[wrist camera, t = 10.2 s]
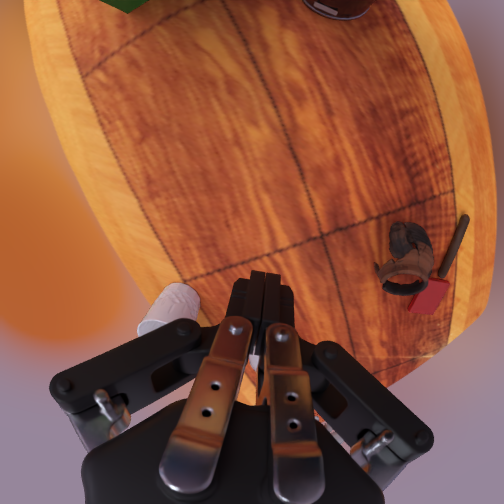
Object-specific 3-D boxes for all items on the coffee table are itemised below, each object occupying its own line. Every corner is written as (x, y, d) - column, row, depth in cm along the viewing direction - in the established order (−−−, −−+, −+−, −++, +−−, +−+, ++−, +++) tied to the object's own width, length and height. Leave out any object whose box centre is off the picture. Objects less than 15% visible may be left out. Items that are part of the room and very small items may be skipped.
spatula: (452, 207, 32) (457, 211, 31) (475, 217, 32) (480, 221, 31) (407, 308, 41) (410, 314, 40) (430, 311, 41) (434, 317, 40)
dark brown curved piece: (435, 247, 36) (439, 293, 32) (385, 258, 42) (383, 302, 38) (417, 195, 30) (425, 246, 25) (356, 213, 36) (353, 262, 32)
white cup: (183, 271, 42) (161, 312, 33) (213, 306, 45) (199, 350, 36) (151, 290, 44) (127, 328, 36) (180, 321, 47) (162, 362, 38)
